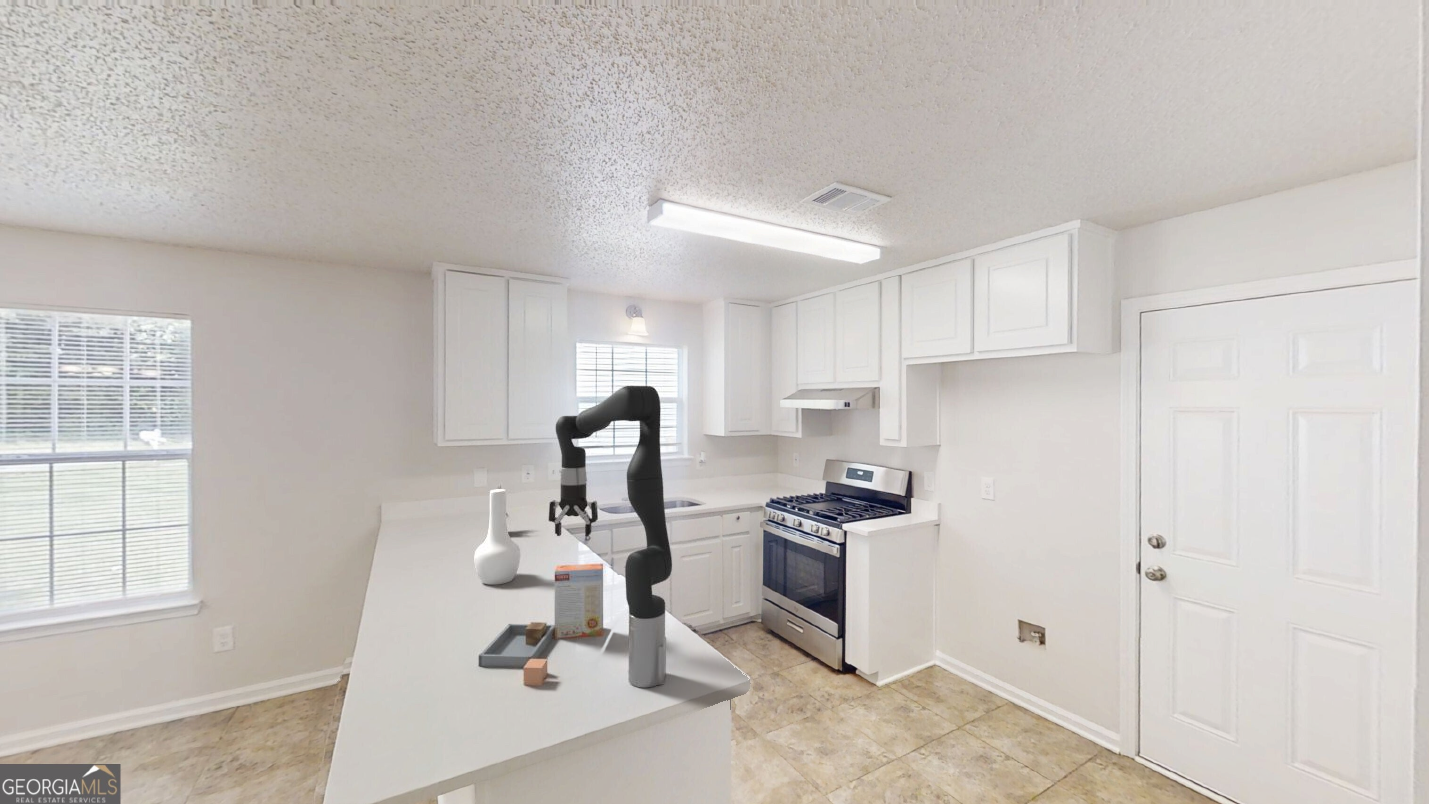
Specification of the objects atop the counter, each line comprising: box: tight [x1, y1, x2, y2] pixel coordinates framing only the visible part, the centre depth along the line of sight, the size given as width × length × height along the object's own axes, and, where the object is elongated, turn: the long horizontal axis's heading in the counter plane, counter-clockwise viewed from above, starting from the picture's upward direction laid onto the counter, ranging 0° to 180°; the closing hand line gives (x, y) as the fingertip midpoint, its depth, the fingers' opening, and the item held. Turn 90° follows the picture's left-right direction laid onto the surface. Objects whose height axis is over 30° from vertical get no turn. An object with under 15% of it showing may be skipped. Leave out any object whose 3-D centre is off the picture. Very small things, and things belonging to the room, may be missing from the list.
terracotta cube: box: [523, 658, 548, 686], centre depth 138 cm, size 4×4×4 cm
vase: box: [473, 488, 521, 586], centre depth 212 cm, size 17×17×35 cm
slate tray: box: [478, 623, 555, 668], centre depth 154 cm, size 14×20×4 cm
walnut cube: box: [526, 621, 547, 645], centre depth 158 cm, size 4×4×4 cm
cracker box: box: [554, 563, 604, 639], centre depth 164 cm, size 14×6×21 cm, turn 99°
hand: (573, 535), depth 164 cm, fingers open, 8 cm apart
